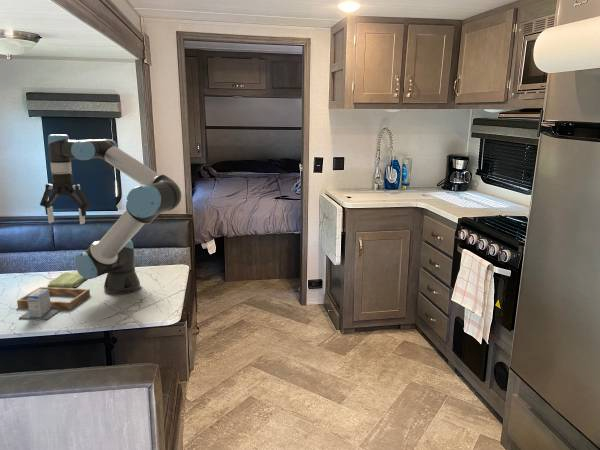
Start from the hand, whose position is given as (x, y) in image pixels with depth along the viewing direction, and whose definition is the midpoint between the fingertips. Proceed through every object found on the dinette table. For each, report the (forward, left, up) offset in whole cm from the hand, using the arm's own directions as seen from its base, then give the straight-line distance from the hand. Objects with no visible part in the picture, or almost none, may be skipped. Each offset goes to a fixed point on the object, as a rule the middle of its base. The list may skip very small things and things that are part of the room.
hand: (67, 223), depth 188 cm
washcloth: (+10, -13, -32) cm, 36 cm away
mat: (+1, +22, -32) cm, 39 cm away
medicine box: (+1, +22, -31) cm, 38 cm away
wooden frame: (+3, +9, -32) cm, 33 cm away
